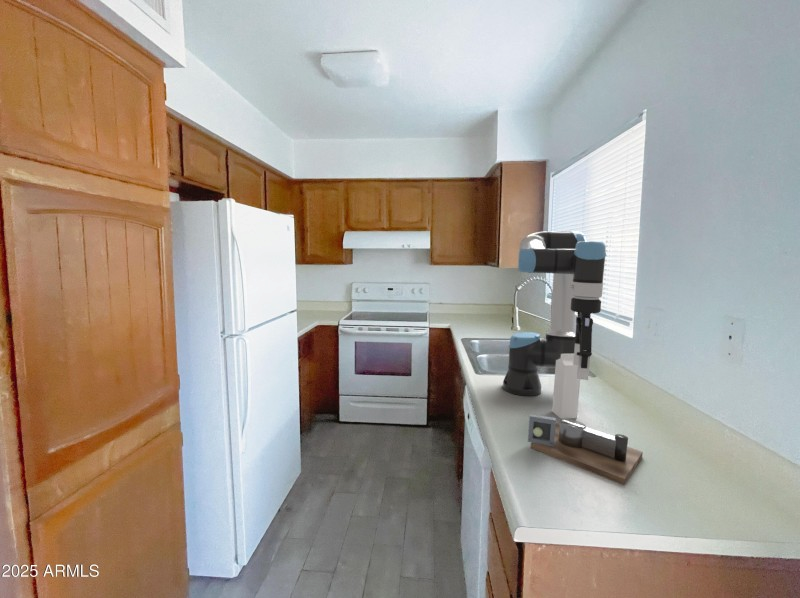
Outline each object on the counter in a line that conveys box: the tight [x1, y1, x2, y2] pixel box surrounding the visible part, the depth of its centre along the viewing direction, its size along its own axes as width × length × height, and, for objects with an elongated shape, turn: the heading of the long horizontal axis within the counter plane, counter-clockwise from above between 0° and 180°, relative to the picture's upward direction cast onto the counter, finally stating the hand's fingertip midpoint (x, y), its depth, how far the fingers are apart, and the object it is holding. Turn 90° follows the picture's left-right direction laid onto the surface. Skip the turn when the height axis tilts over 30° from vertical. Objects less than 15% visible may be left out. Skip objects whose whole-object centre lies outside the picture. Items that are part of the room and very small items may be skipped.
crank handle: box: [558, 418, 629, 461], centre depth 106 cm, size 18×7×6 cm, turn 45°
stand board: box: [530, 422, 644, 486], centre depth 107 cm, size 18×24×2 cm
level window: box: [527, 413, 557, 447], centre depth 108 cm, size 3×7×8 cm, turn 68°
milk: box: [551, 354, 581, 420], centre depth 130 cm, size 6×6×22 cm
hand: (580, 371), depth 107 cm, fingers open, 13 cm apart
